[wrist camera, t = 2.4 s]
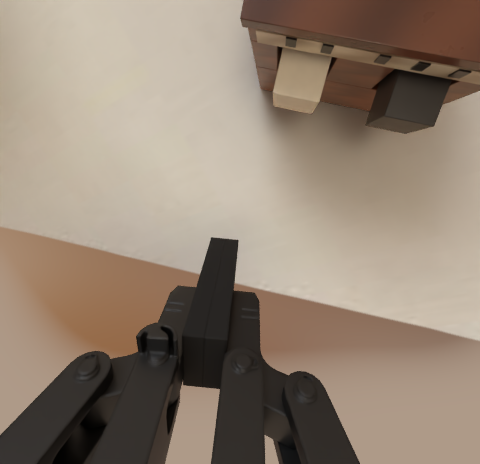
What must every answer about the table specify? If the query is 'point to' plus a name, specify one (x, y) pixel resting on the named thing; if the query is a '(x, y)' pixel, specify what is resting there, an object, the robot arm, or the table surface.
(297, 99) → the ivory key
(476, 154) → the table surface
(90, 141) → the table surface
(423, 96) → the black key
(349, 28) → the toy piano
